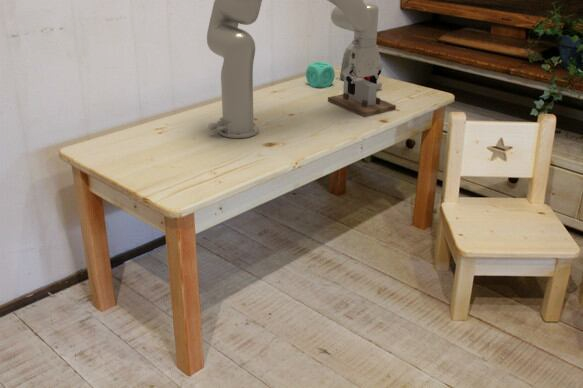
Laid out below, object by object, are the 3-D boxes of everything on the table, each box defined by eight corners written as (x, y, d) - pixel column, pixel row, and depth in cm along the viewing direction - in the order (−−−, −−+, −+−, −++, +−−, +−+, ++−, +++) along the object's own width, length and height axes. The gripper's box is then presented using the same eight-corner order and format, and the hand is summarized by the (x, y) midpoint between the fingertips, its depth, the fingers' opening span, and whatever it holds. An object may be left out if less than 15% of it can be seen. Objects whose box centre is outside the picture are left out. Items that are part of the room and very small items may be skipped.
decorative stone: (349, 82, 247) (351, 44, 240) (336, 79, 250) (338, 41, 243) (363, 76, 255) (366, 39, 248) (351, 73, 258) (353, 37, 251)
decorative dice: (320, 80, 248) (321, 60, 245) (334, 85, 243) (335, 65, 239) (305, 84, 244) (305, 63, 240) (319, 89, 238) (319, 68, 235)
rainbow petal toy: (351, 87, 241) (352, 68, 238) (373, 84, 245) (374, 66, 242) (362, 93, 234) (363, 74, 231) (384, 90, 238) (386, 71, 235)
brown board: (364, 117, 210) (365, 107, 209) (327, 101, 225) (328, 91, 223) (395, 109, 218) (396, 99, 216) (358, 94, 232) (358, 85, 231)
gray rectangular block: (367, 106, 216) (369, 86, 213) (343, 95, 227) (344, 76, 224) (375, 104, 218) (377, 84, 215) (351, 93, 228) (352, 74, 225)
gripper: (352, 47, 204) (349, 98, 212) (391, 41, 213) (387, 90, 221) (337, 43, 210) (335, 92, 217) (377, 37, 219) (373, 85, 226)
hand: (361, 91), depth 219 cm, fingers open, 9 cm apart
